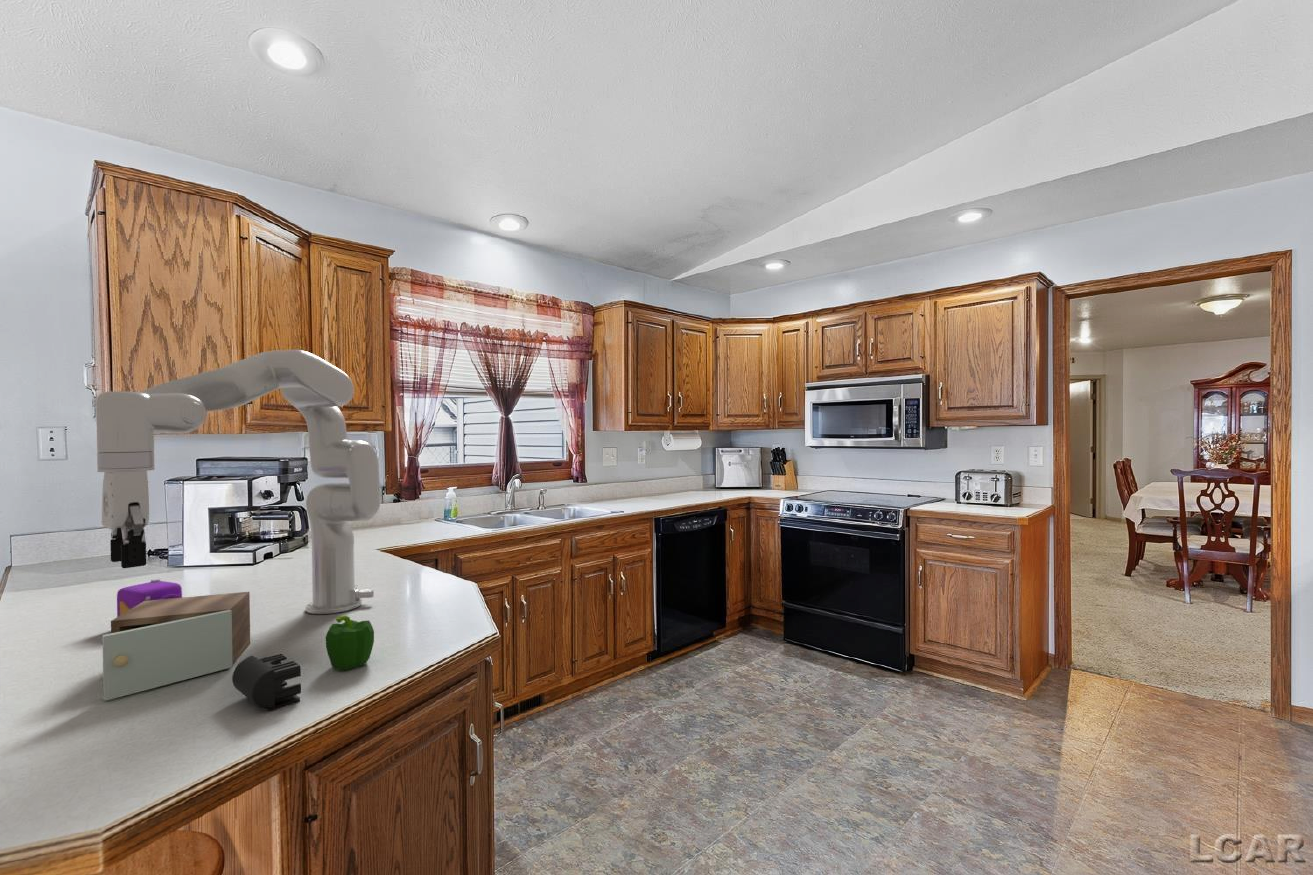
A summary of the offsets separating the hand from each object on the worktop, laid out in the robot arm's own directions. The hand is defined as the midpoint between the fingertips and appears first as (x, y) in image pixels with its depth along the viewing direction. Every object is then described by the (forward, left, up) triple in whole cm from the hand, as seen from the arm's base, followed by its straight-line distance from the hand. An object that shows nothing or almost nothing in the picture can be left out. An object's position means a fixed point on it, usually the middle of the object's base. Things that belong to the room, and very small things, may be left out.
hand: (128, 563), depth 106 cm
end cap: (-24, +15, -22) cm, 36 cm away
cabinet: (-5, -12, -22) cm, 25 cm away
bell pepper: (-35, +3, -22) cm, 41 cm away
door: (-6, +1, -22) cm, 22 cm away
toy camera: (+10, -42, -22) cm, 48 cm away
